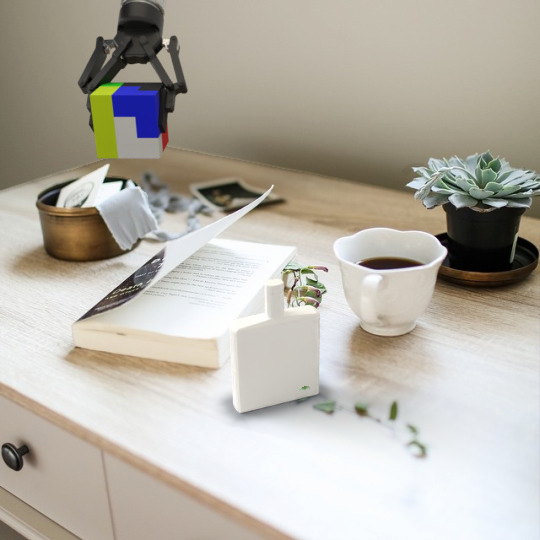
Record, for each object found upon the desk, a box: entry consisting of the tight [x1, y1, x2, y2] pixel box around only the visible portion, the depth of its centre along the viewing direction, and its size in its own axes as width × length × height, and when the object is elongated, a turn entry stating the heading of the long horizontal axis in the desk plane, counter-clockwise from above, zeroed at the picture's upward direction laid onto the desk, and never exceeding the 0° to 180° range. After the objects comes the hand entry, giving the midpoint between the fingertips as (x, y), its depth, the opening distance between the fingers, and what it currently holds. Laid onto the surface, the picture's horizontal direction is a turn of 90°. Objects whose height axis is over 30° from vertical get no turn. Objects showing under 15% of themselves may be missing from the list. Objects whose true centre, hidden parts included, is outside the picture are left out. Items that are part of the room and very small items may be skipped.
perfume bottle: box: [228, 278, 321, 414], centre depth 59 cm, size 8×2×12 cm, turn 110°
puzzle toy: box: [90, 81, 170, 160], centre depth 109 cm, size 10×10×10 cm
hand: (127, 128), depth 107 cm, fingers closed on puzzle toy, 10 cm apart
